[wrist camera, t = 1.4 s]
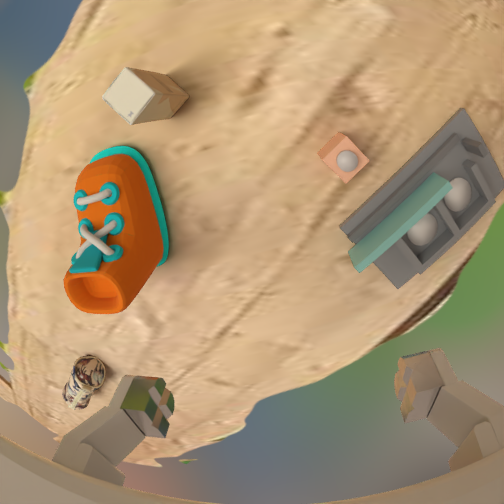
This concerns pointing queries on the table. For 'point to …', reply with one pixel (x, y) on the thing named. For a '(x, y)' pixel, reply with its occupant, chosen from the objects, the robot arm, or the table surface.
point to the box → (144, 96)
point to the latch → (399, 221)
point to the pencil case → (83, 381)
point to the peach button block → (343, 157)
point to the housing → (445, 211)
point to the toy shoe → (115, 232)
